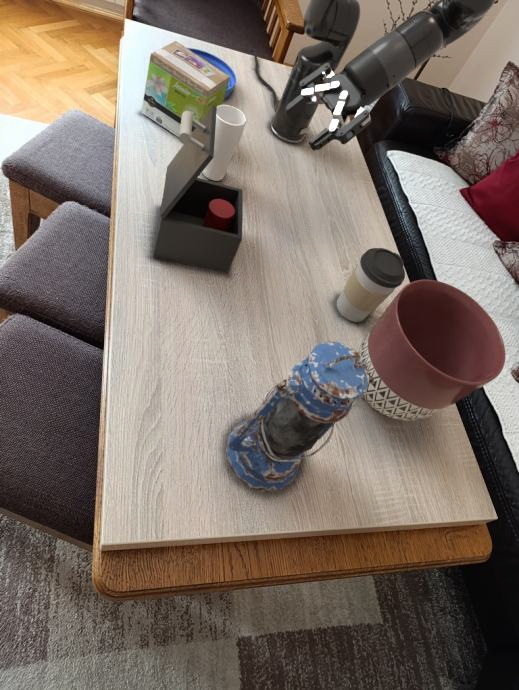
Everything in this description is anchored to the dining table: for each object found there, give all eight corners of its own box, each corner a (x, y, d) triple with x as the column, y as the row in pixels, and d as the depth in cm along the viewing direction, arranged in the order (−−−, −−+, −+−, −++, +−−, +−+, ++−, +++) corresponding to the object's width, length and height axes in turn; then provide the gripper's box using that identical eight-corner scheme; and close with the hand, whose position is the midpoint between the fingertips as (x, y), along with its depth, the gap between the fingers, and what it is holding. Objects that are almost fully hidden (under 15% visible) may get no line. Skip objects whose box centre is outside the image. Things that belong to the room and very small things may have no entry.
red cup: (200, 226, 102) (209, 196, 96) (224, 231, 103) (235, 202, 97) (198, 243, 99) (208, 214, 93) (223, 249, 100) (234, 220, 94)
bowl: (169, 95, 124) (171, 81, 121) (162, 54, 133) (164, 41, 130) (238, 108, 131) (242, 96, 128) (227, 69, 140) (230, 56, 137)
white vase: (192, 173, 111) (209, 113, 99) (205, 159, 115) (222, 99, 103) (219, 188, 111) (239, 130, 99) (231, 173, 115) (251, 116, 104)
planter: (440, 438, 93) (525, 384, 76) (349, 441, 86) (419, 382, 69) (408, 349, 103) (477, 284, 86) (324, 345, 96) (380, 274, 79)
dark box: (229, 225, 106) (242, 189, 98) (227, 273, 98) (242, 238, 91) (160, 208, 102) (168, 169, 94) (152, 257, 94) (161, 219, 87)
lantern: (296, 413, 86) (386, 311, 62) (317, 483, 80) (425, 400, 56) (210, 422, 80) (274, 312, 56) (226, 498, 74) (304, 412, 50)
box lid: (217, 107, 84) (191, 89, 82) (213, 157, 77) (185, 139, 74) (170, 168, 94) (146, 154, 92) (163, 218, 87) (137, 204, 84)
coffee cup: (345, 330, 100) (384, 283, 89) (323, 295, 104) (358, 245, 92) (378, 321, 105) (419, 275, 93) (356, 287, 108) (393, 239, 96)
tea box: (139, 114, 116) (148, 51, 105) (164, 99, 122) (175, 38, 111) (193, 149, 116) (209, 89, 104) (215, 132, 122) (232, 74, 110)
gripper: (352, 26, 82) (271, 90, 86) (400, 79, 77) (312, 145, 80) (360, 59, 89) (285, 117, 92) (405, 110, 84) (324, 170, 87)
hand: (298, 130), depth 86 cm, fingers open, 8 cm apart
